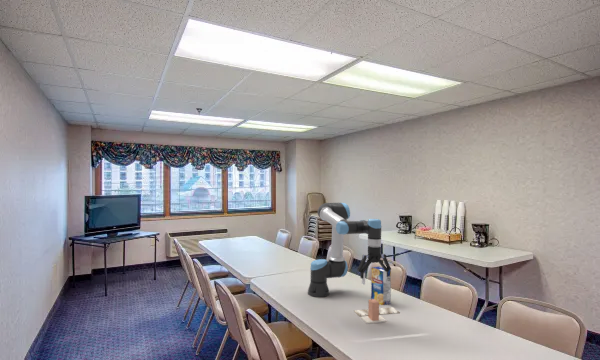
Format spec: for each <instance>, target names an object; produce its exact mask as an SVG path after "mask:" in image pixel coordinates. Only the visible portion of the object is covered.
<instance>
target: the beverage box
mask: <svg viewBox="0 0 600 360" xmlns="http://www.w3.org/2000/svg"><path fill="white" fill-rule="evenodd" d="M391 270H392V269H391ZM391 270H389V272H388V277H387V283H384V282H383V271H385V270H384V269H383V267H382V266H379V265H378V266H374V267H371V282H370V284H371V286H370V287H371V288H370V289H371V290H370V291H371V294H370V295H371V298H370V299H376V300H377V301H378V302H379V305H380V306H388V305H391V304H392V303H391V301H392V297H391V296H392V294H391V291H392V289H391V288H392V287H391V286H392V284H391V283H392V282H391V281H392V271H391Z"/></svg>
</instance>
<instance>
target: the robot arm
mask: <svg viewBox="0 0 600 360" xmlns="http://www.w3.org/2000/svg"><path fill="white" fill-rule="evenodd" d="M317 215H318V217H319V219H320V220H322V221H324V222H327V223H329V224H330V225H331V245H330V247H331V249H330V256H329V257H328V261H327V259H324V258H321V259H320V258H319V259H315V260H312V261H311V263H310V283H309V286H308V289H307V294H308V295H309V296H311V297H315V298H324V297H327V296H329V295H330V288H329V286H328V279H332V278H333V279H334V278H336V279H337V278H344V277H345V276H346V275H347V273H348V269H349V267H348V262H347V260H346V259H345V257H344V238H345V235H357V234H359V235H360V234H361V235H362V234H365V235H367V245H368V246H367V254H362V259H361V260H360V262H359V265H358V267H357V272H358V273H360V279H361V284H362V285H363V286H365V285H366V272H365V271H366V270H367V269H368V268H369V266H370V265H371V264H373V263H374V264H375V263H378V264H379V265H380V267H383V269H384V270H385V271H383V282H384V283H387V277H388V272H389V270H392V267H391V266H390V264H389V261H388V258H387V255H386V254H385V253H382V247H381V246H382V227H383V226H382V221H381V219H379V218H378V219H377V218H369V219H368V220H366V219H365V220H364V219H363V220H356V221H355V220H352V221H351V220H349V219H350V217H351V210H350V207H349V205H348V204H347V203H345V202H325V203H322V204H321V205H320V206H319V207H318V209H317ZM382 260H383V261H382Z"/></svg>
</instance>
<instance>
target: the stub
mask: <svg viewBox="0 0 600 360" xmlns="http://www.w3.org/2000/svg"><path fill="white" fill-rule="evenodd" d="M379 308H380V304H379V302H378V301H377V300H376V299H371V298H370V299H368V316H362V317H360V319H361V320H362V321H363V322H364V323H365V324H366V325H367V324H377V323H386V322H387V320H386V318H384V317H383V315H379Z"/></svg>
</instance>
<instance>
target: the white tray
mask: <svg viewBox="0 0 600 360" xmlns="http://www.w3.org/2000/svg"><path fill="white" fill-rule="evenodd" d="M353 312H354V313H355V314H356V315H357V316H358V317H360V318H361V317H365V316H368V309H356V310H353ZM400 313H401V312H400V311H399V310H398V309H396V308H395V307H393V306H391V307H381V308H380V307H379V315H381V316H383V315H394V314H400Z"/></svg>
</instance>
